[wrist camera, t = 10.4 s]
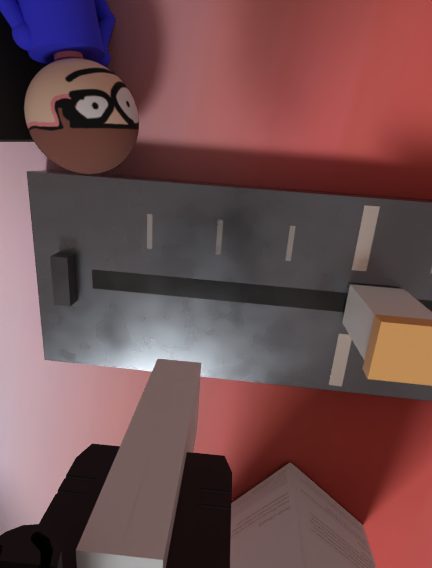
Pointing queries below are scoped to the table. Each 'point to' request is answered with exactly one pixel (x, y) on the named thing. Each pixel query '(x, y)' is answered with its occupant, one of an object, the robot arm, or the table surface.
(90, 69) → the character figurine
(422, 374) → the block
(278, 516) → the supplement box
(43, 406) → the table surface
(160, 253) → the panel
